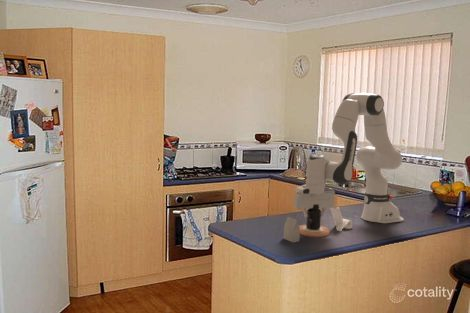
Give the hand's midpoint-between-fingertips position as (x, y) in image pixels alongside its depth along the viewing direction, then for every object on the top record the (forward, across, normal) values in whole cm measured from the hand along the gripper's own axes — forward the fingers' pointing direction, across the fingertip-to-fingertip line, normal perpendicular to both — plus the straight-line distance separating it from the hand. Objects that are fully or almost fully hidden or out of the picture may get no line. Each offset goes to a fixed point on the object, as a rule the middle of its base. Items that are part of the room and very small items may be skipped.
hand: (313, 216), depth 239 cm
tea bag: (+8, +15, +10) cm, 20 cm away
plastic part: (+8, -17, -5) cm, 19 cm away
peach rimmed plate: (+8, 0, 0) cm, 8 cm away
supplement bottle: (+6, 0, 0) cm, 6 cm away
